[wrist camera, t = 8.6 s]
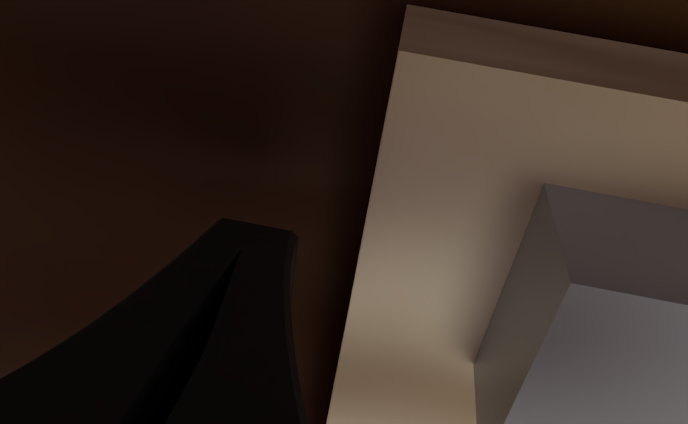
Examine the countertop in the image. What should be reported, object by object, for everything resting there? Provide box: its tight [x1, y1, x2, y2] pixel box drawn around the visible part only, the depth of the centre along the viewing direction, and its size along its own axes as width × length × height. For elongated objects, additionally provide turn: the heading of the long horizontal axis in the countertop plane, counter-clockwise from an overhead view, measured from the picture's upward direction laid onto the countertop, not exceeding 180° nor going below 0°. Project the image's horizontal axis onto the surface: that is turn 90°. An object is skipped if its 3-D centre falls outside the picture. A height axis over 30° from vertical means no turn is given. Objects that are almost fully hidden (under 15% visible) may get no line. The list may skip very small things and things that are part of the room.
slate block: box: [473, 183, 688, 424], centre depth 10 cm, size 4×4×2 cm
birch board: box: [326, 4, 688, 424], centre depth 14 cm, size 16×10×2 cm, turn 172°
